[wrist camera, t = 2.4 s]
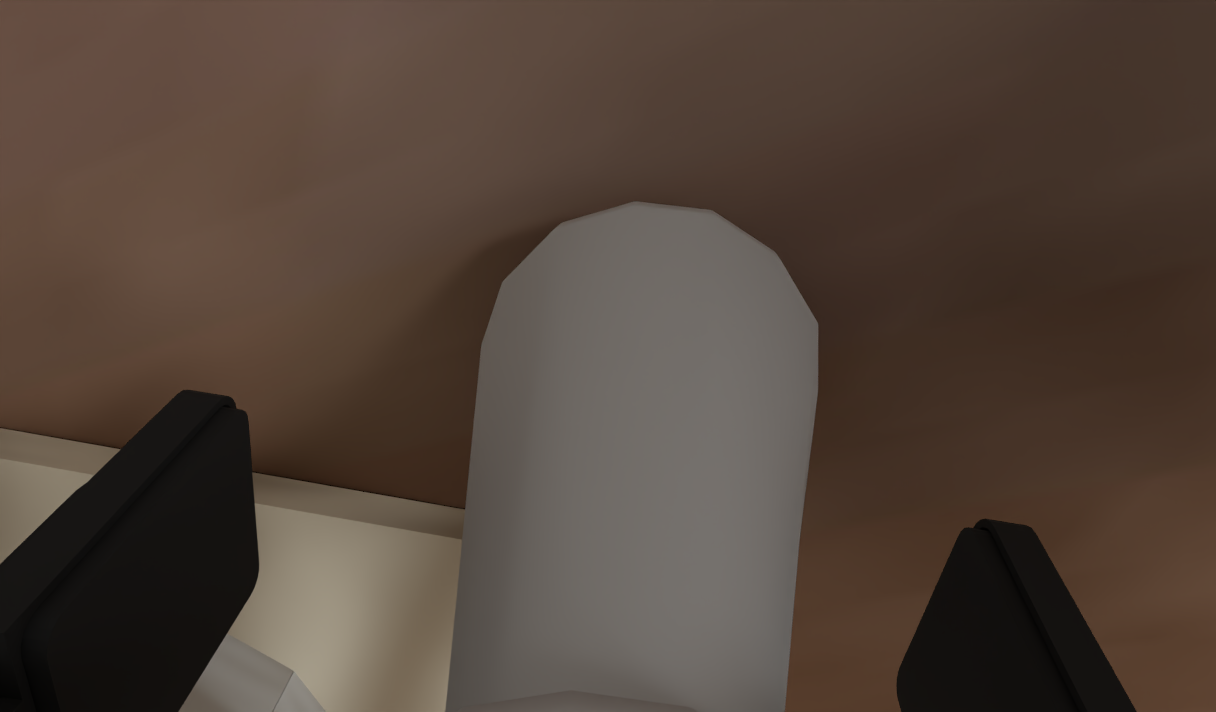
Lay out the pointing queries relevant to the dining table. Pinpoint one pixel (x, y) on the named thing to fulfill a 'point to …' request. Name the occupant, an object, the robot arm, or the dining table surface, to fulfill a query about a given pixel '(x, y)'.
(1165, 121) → the dining table surface
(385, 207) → the dining table surface
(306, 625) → the ring holder
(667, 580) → the salt shaker
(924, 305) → the dining table surface
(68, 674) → the robot arm
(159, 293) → the dining table surface
